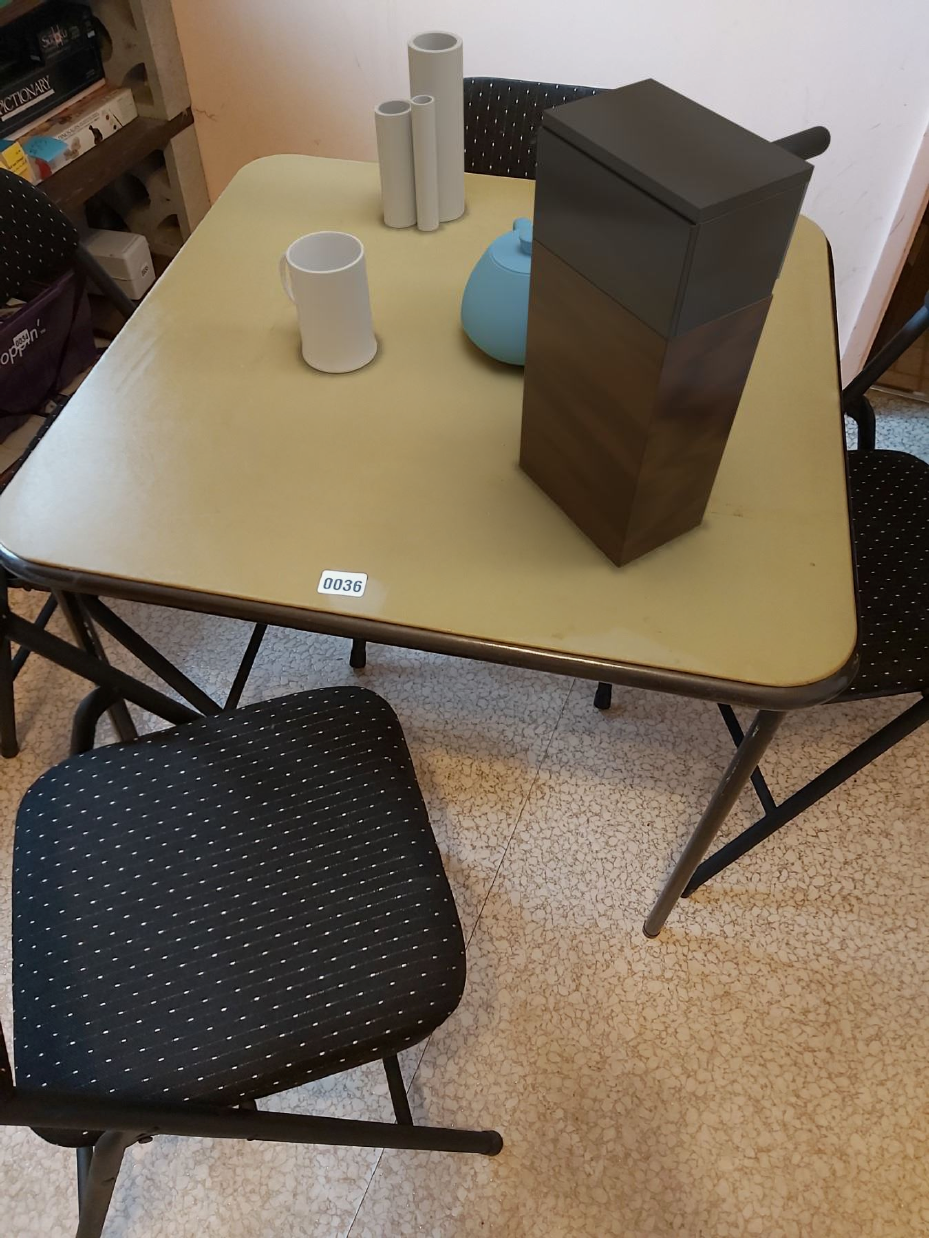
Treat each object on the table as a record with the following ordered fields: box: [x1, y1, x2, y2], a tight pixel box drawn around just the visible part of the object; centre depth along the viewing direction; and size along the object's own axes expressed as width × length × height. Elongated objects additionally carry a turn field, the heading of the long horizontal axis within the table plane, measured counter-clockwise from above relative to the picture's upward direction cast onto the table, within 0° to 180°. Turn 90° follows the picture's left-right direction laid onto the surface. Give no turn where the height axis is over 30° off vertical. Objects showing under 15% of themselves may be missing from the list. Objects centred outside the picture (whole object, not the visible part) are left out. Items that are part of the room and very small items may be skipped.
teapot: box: [460, 217, 533, 366], centre depth 92 cm, size 20×20×13 cm
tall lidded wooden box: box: [518, 77, 816, 568], centre depth 69 cm, size 10×16×33 cm, turn 32°
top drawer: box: [770, 125, 832, 280], centre depth 61 cm, size 20×14×7 cm
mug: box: [278, 230, 378, 374], centre depth 92 cm, size 12×8×12 cm
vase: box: [373, 30, 466, 232], centre depth 105 cm, size 11×7×20 cm, turn 126°
